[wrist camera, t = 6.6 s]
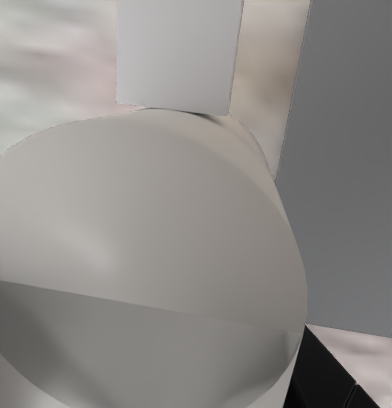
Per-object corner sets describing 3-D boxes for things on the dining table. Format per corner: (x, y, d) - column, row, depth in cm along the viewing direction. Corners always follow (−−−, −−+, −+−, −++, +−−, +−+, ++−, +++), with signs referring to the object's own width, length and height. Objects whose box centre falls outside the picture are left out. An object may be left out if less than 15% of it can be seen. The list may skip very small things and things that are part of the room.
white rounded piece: (230, 394, 11) (222, 621, 6) (107, 370, 11) (13, 567, 7) (308, -2, 7) (455, -204, 2) (111, -19, 7) (-128, -218, 3)
